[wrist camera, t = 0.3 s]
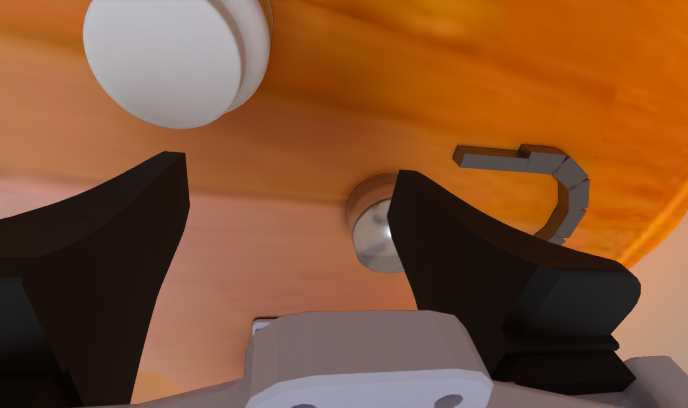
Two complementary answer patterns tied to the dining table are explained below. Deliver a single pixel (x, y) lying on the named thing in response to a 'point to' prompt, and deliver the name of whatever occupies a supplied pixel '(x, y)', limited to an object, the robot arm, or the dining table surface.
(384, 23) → the dining table surface
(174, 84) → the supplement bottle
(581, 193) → the u-shaped bracket
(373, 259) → the cylinder
